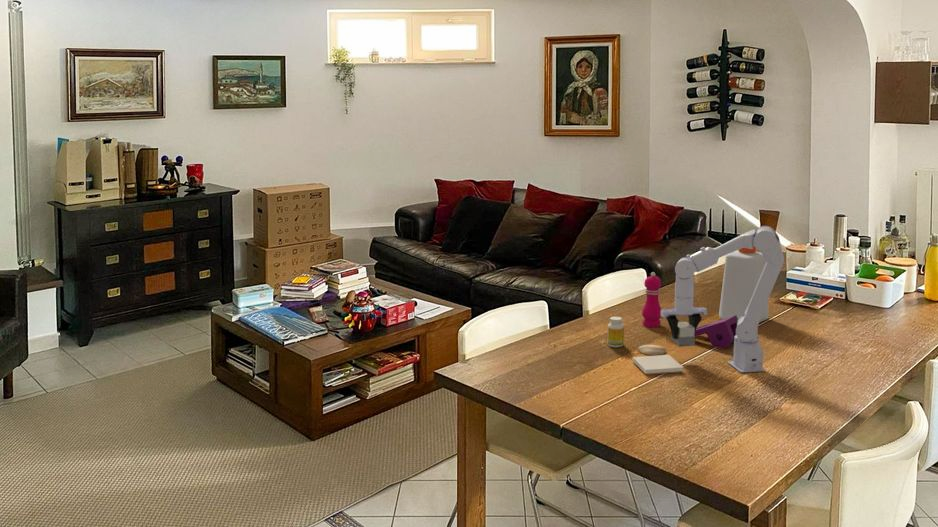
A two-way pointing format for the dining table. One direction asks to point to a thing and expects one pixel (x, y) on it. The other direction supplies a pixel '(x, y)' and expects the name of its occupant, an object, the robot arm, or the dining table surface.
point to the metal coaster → (652, 349)
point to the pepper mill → (652, 302)
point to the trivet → (657, 364)
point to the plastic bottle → (741, 282)
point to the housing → (684, 335)
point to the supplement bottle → (615, 332)
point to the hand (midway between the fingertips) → (682, 337)
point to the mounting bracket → (719, 331)
